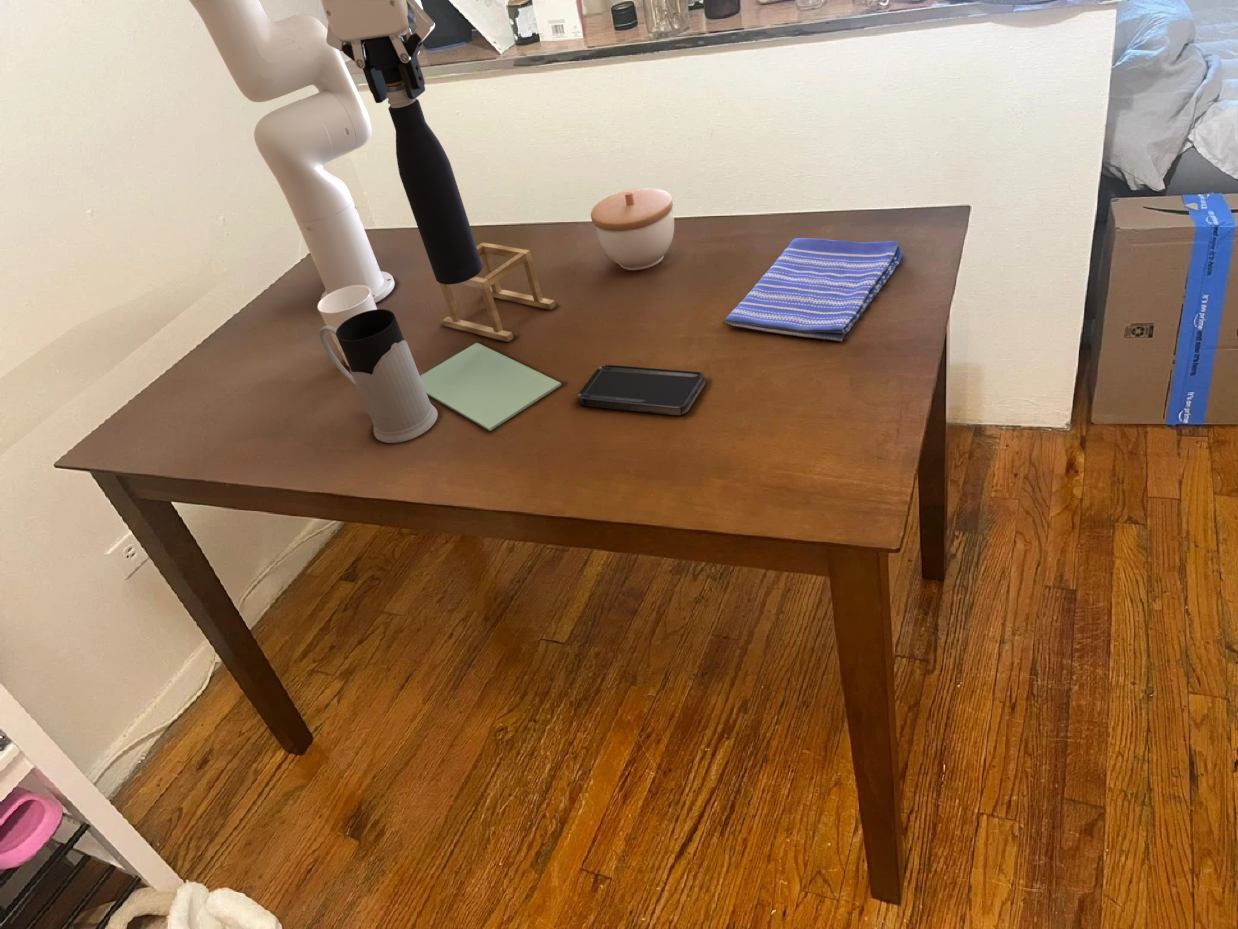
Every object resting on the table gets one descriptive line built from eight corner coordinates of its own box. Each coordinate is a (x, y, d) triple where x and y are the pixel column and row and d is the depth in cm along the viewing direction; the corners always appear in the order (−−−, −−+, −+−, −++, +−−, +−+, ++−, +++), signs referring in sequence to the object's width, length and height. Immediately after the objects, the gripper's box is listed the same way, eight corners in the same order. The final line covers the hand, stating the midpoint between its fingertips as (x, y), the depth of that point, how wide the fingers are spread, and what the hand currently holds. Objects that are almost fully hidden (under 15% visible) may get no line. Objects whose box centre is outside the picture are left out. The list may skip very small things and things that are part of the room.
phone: (600, 364, 125) (706, 372, 118) (602, 371, 126) (708, 379, 119) (574, 398, 120) (683, 409, 113) (576, 405, 120) (685, 416, 114)
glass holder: (408, 448, 121) (365, 347, 112) (332, 429, 128) (287, 333, 119) (450, 409, 126) (414, 310, 117) (375, 392, 133) (335, 299, 124)
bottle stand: (444, 325, 146) (424, 271, 140) (491, 292, 151) (475, 239, 146) (508, 342, 137) (490, 285, 132) (556, 306, 143) (541, 250, 138)
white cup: (404, 344, 143) (381, 285, 137) (373, 373, 138) (348, 313, 132) (363, 341, 147) (339, 284, 141) (332, 369, 141) (306, 311, 135)
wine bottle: (474, 282, 122) (395, 39, 104) (429, 286, 124) (344, 48, 106) (488, 259, 127) (415, 22, 109) (445, 263, 129) (366, 31, 111)
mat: (409, 384, 133) (408, 382, 133) (477, 344, 139) (476, 342, 138) (489, 431, 120) (489, 428, 120) (561, 385, 125) (560, 382, 125)
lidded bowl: (682, 270, 144) (671, 201, 138) (601, 284, 146) (586, 217, 139) (679, 235, 154) (668, 169, 148) (603, 248, 156) (589, 184, 149)
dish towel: (906, 256, 134) (906, 237, 132) (845, 344, 119) (844, 325, 118) (793, 247, 143) (791, 230, 141) (723, 329, 128) (720, 310, 127)
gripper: (426, -98, 100) (476, 78, 111) (298, -73, 106) (357, 93, 117) (393, -83, 95) (449, 101, 106) (260, -57, 101) (325, 115, 112)
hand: (400, 95), depth 112 cm, fingers closed on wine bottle, 3 cm apart
